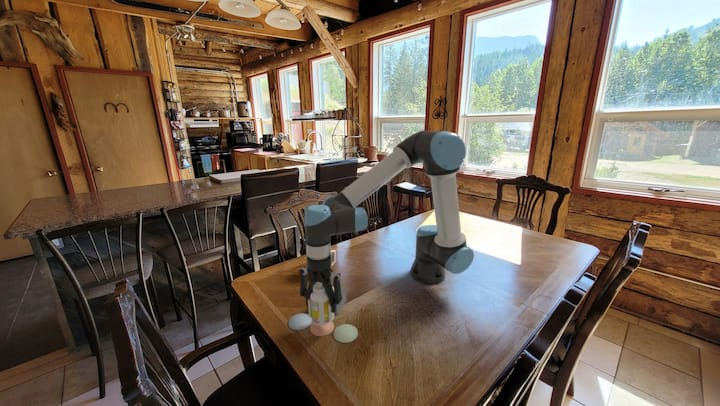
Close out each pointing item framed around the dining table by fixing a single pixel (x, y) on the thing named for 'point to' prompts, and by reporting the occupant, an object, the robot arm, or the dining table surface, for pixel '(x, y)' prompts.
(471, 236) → the dining table surface
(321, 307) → the supplement bottle
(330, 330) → the pad
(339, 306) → the housing
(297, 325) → the pad
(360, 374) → the dining table surface
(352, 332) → the pad
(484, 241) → the dining table surface
